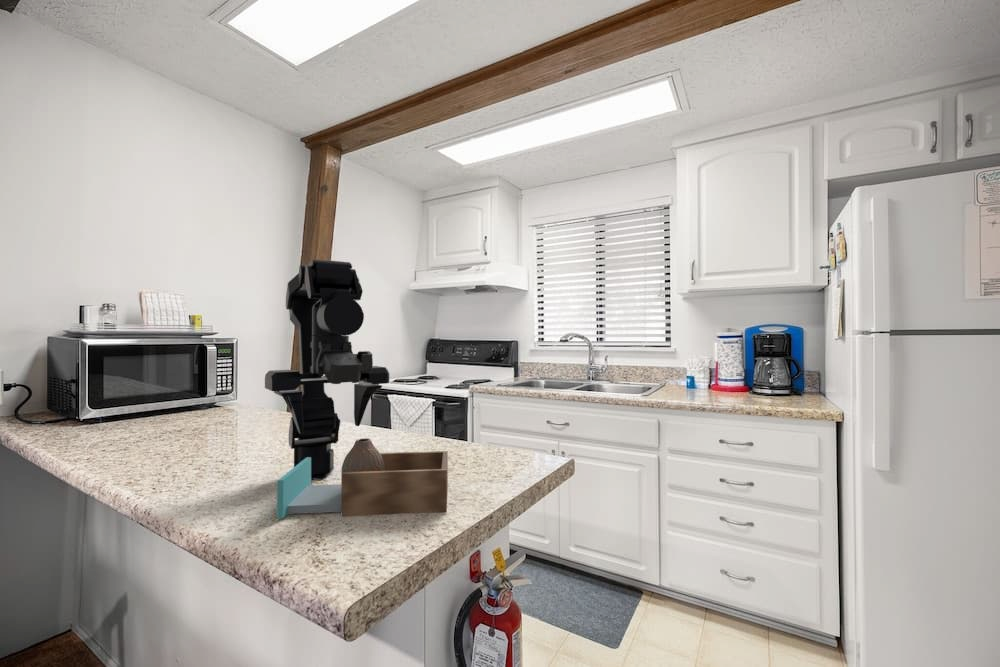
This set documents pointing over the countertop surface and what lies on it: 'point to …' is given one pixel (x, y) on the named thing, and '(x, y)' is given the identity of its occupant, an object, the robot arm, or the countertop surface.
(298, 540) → the countertop surface
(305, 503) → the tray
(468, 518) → the countertop surface
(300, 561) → the countertop surface
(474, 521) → the countertop surface
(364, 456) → the vase
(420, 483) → the caddy
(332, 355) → the robot arm
